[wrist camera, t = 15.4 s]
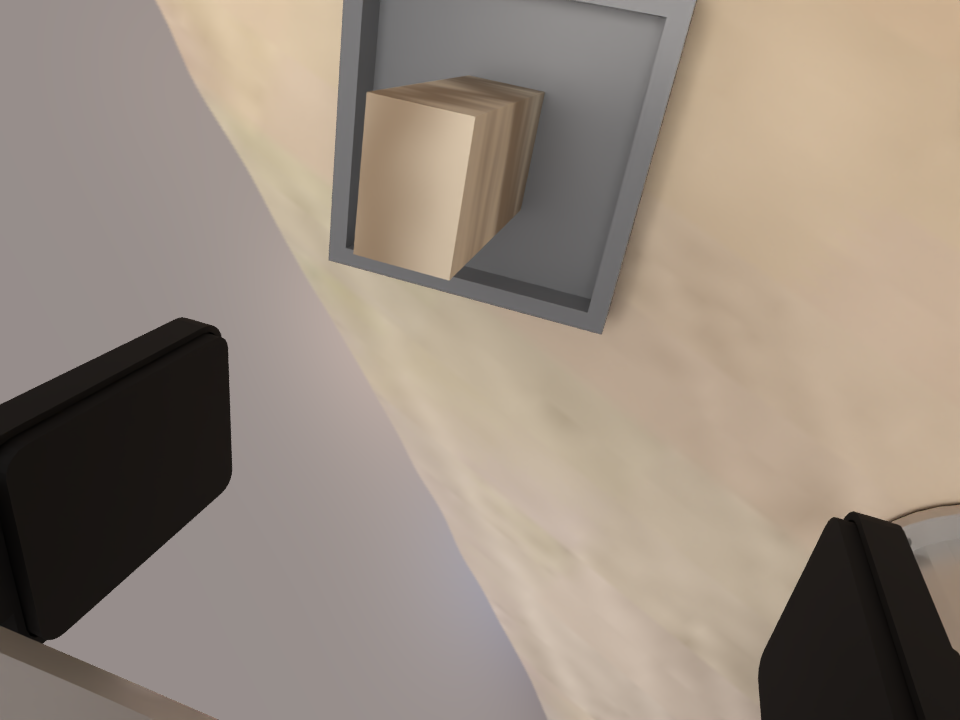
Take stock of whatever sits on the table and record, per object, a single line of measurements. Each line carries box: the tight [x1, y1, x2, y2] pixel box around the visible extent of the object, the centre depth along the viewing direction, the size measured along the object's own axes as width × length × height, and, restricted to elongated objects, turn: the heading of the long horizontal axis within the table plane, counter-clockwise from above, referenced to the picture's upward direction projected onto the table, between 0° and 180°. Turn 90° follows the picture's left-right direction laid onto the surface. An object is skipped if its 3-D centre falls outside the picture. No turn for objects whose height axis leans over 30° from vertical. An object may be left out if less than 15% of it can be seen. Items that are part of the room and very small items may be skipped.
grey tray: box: [329, 0, 697, 335], centre depth 34 cm, size 16×16×3 cm
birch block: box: [353, 75, 545, 280], centre depth 29 cm, size 4×6×12 cm, turn 170°
